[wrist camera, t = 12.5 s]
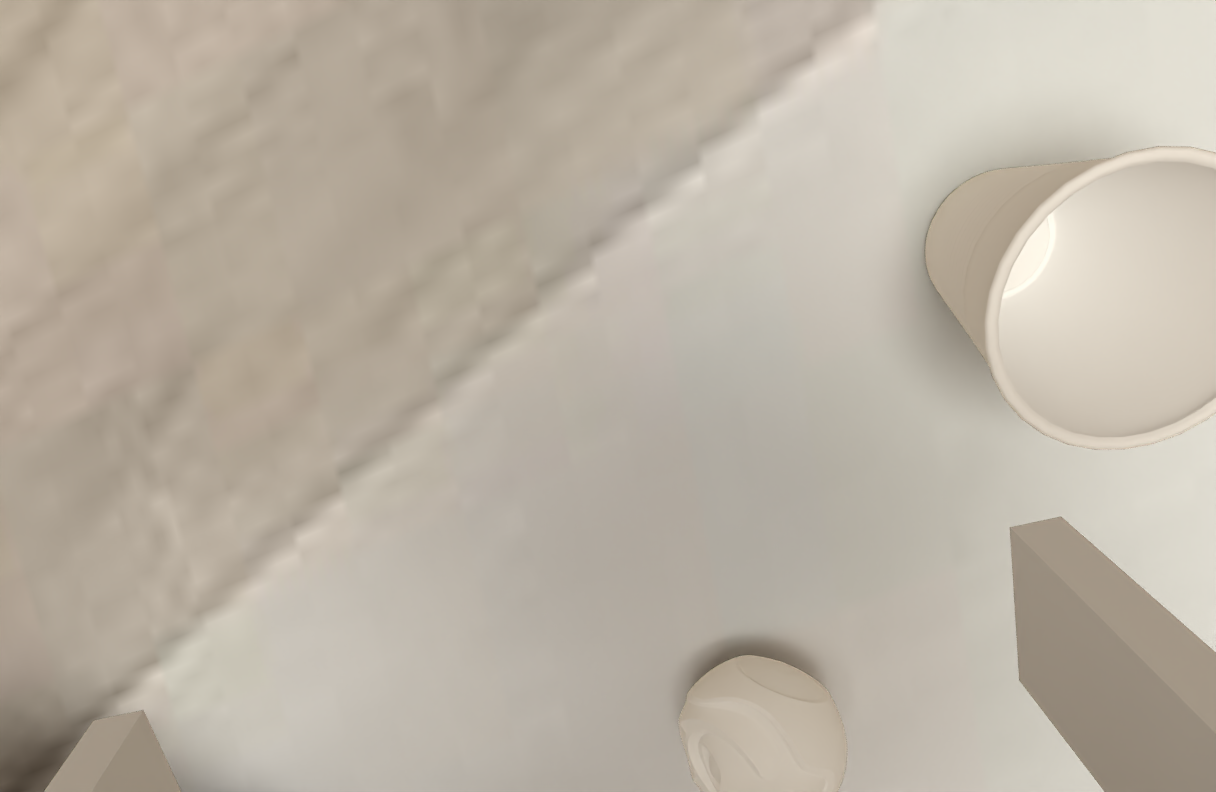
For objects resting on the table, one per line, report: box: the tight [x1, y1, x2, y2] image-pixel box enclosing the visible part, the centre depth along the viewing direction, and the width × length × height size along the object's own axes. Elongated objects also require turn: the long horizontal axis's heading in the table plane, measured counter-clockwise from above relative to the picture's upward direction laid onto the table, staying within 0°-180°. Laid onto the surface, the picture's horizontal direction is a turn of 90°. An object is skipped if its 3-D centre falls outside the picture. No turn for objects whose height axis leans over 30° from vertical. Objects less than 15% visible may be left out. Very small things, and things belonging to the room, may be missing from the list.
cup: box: [925, 146, 1216, 450], centre depth 34 cm, size 10×10×11 cm
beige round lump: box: [678, 655, 847, 792], centre depth 44 cm, size 8×8×8 cm
